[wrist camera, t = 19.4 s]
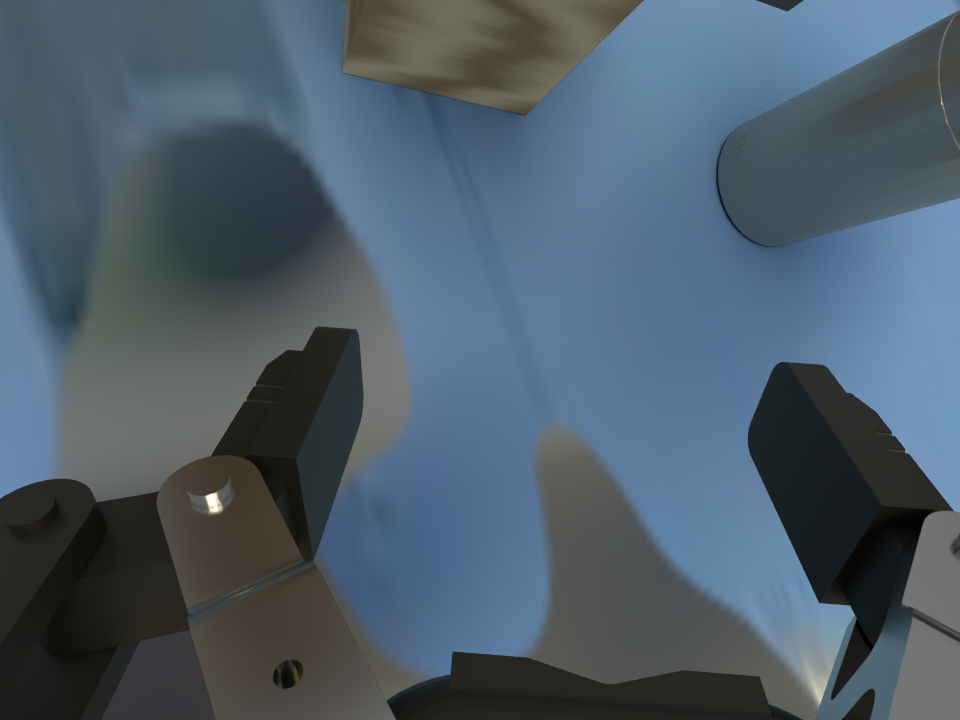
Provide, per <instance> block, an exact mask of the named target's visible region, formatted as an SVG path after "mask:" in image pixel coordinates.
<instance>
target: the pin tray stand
mask: <svg viewBox="0 0 960 720" xmlns="http://www.w3.org/2000/svg"><path fill="white" fill-rule="evenodd" d="M643 1H644V0H346V12H345V32H344V51H343V70H342V72H343V73H347V74H351V75H356V76H360V77H364V78H368V79H373V80H377V81H381V82H385V83H390V84H394V85H398V86H403V87H407V88H411V89H415V90H420V91H424V92H428V93H432V94H437V95H441V96H445V97H449V98H454V99H458V100H462V101H467V102H471V103H475V104H479V105H484V106H488V107H492V108H496V109H501V110H505V111H509V112H513V113H518V114H522V115H526V114H527V113H528V112H529V111H530V110H531V109H532V108H533V107H534V106H535V105H537V104H538V103H539V102H540V101H541V100H542V99H543V98H544V97H545V96H546V95H547V94H548V93H549V92H550V91H551V90H552V89H553V88H554V87H555V86H556V85H557V84H558V83H559V82H560V81H561V80H562V79H563V78H564V77H565V76H566V75H567V74H568V73H569V72H570V71H572V70H573V69H574V68H575V67H576V66H577V65H578V64H579V63H580V62H581V61H582V60H583V59H584V58H585V57H586V56H587V55H588V54H589V53H590V52H591V51H592V50H593V49H594V48H595V47H596V46H597V45H598V44H599V43H600V42H601V41H602V40H603V39H604V38H605V37H606V36H608V35H609V34H610V33H611V32H612V31H613V30H614V29H615V28H616V27H617V26H618V25H619V24H620V23H621V22H622V21H623V20H624V19H625V18H626V17H627V16H628V15H629V14H630V13H631V12H632V11H633V10H634V9H635V8H636V7H637V6H638V5H639V4H640V3H641V2H643Z"/></svg>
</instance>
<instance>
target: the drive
mask: <svg viewBox="0 0 960 720" xmlns="http://www.w3.org/2000/svg"><path fill="white" fill-rule="evenodd" d="M757 1H760V2H762V3H765V4H768V5H771V6H774V7H776V8H779V9H782V10H785V11H789V10H790V9H792V8H793V7H795V6H796V5H798V4H799V3H800V2H802V1H803V0H757Z"/></svg>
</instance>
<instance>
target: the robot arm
mask: <svg viewBox="0 0 960 720" xmlns="http://www.w3.org/2000/svg"><path fill="white" fill-rule="evenodd" d="M718 182H719V189H720V194H721V198H722V201H723V204H724V206H725V209H726V211H727V213H728V215H729V217H730V218H731V220H732V221H733V223H734V225H735V226H736V227H737V228H738V229H739V230H740V231H741V232H742V233H743V234H744V235H745V236H747V237H748V238H749V239H751V240H752V241H754V242H756V243H758V244H761V245H765V246H771V247H774V246H782V245H786V244H789V243H793V242H797V241H801V240H804V239H808V238H812V237H816V236H819V235H823V234H827V233H831V232H835V231H839V230H843V229H846V228H850V227H854V226H858V225H861V224H865V223H869V222H872V221H876V220H880V219H884V218H887V217H891V216H895V215H899V214H902V213H906V212H910V211H914V210H917V209H921V208H925V207H928V206H932V205H936V204H940V203H943V202H947V201H951V200H955V199H958V198H960V10H959V11H957V12H955V13H953V14H951V15H950V16H948V17H946V18H944V19H942V20H940V21H938V22H936V23H934V24H932V25H931V26H929V27H927V28H925V29H923V30H921V31H919V32H917V33H915V34H914V35H912V36H910V37H908V38H906V39H904V40H902V41H900V42H898V43H897V44H895V45H893V46H891V47H889V48H887V49H885V50H883V51H881V52H879V53H878V54H876V55H874V56H872V57H870V58H868V59H866V60H864V61H862V62H861V63H859V64H857V65H855V66H853V67H851V68H849V69H847V70H845V71H843V72H842V73H840V74H838V75H836V76H834V77H832V78H830V79H828V80H826V81H825V82H823V83H821V84H819V85H817V86H815V87H813V88H811V89H809V90H807V91H806V92H804V93H802V94H800V95H798V96H796V97H794V98H792V99H790V100H788V101H786V102H784V103H783V104H781V105H779V106H777V107H775V108H773V109H771V110H769V111H767V112H766V113H764V114H762V115H760V116H758V117H756V118H754V119H752V120H750V121H749V122H747V123H745V124H743V125H741V126H740V127H738V128H737V129H735V130H734V131H733V133H732V134H731V135H730V136H729V137H728V139H727V140H726V142H725V144H724V146H723V148H722V152H721V155H720V158H719V166H718ZM362 410H363V383H362V370H361V356H360V342H359V335H358V332H357V330H356V329H345V328H331V327H316V328H315V330H314V331H313V334H312V335H311V337H310V339H309V341H308V342H307V344H306V346H305V348H304V350H303V351H295V350H287V351H285V352H284V353H283V354H281V355H280V356H279V357H277V358H276V359H274V360H273V361H272V362H270V363H269V364H268V365H267V366H266V367H265V369H264V371H263V372H262V374H261V376H260V377H259V379H258V381H257V382H256V387H253V389H252V390H251V392H250V394H249V395H248V397H247V401H246V402H244V403H243V405H242V406H241V408H240V410H239V411H238V413H237V414H236V416H235V418H234V420H233V421H232V423H231V424H230V426H229V427H228V429H227V431H226V432H225V434H224V436H223V437H222V439H221V441H220V442H219V444H218V445H217V447H216V449H215V450H214V452H213V453H212V455H211V457H206V458H203V459H199V460H197V461H194V462H192V463H190V464H188V465H186V466H184V467H182V468H181V469H179V470H178V471H176V472H175V473H174V474H172V475H171V476H170V477H169V478H168V479H167V481H166V482H165V483H164V484H163V486H162V487H161V489H160V491H158V492H154V493H150V494H144V495H138V496H132V497H127V498H121V499H115V500H108V501H103V502H96V500H95V498H94V496H93V493H92V492H91V490H90V488H88V487H87V486H86V485H85V484H83V483H81V482H78V481H75V480H70V479H52V480H45V481H41V482H37V483H33V484H30V485H27V486H24V487H22V488H20V489H17V490H15V491H13V492H11V493H9V494H7V495H6V496H4V497H2V498H1V499H0V720H101V719H102V717H103V715H104V713H105V711H106V709H107V707H108V705H109V702H110V700H111V699H112V697H113V694H114V692H115V690H116V688H117V686H118V684H119V682H120V680H121V678H122V676H123V674H124V672H125V670H126V668H127V665H128V664H129V662H130V660H131V658H132V656H133V653H134V651H135V649H136V647H137V645H138V643H139V641H141V640H145V639H150V638H155V637H159V636H163V635H167V634H172V633H177V632H181V631H185V630H190V632H191V635H192V639H193V642H194V646H195V649H196V652H197V656H198V659H199V663H200V666H201V669H202V673H203V676H204V680H205V683H206V687H207V690H208V693H209V697H210V701H211V704H212V707H213V711H214V714H215V718H216V720H802V719H800V718H798V717H797V716H795V715H793V714H791V713H789V712H786V711H784V710H782V709H780V708H778V707H776V706H773V705H769V704H768V701H767V698H766V695H765V692H764V689H763V686H762V683H761V680H760V677H758V676H746V675H733V674H721V673H709V672H697V671H678V672H674V673H669V674H663V675H658V676H653V677H648V678H643V679H638V680H633V681H628V682H623V683H618V684H604V683H600V682H597V681H594V680H591V679H588V678H585V677H582V676H579V675H576V674H574V673H571V672H568V671H564V670H562V669H559V668H556V667H553V666H550V665H547V664H544V663H541V662H539V661H536V660H533V659H530V658H525V657H513V656H501V655H489V654H476V653H464V652H453V654H452V665H451V675H446V676H441V677H437V678H433V679H430V680H427V681H424V682H421V683H418V684H416V685H414V686H411V687H410V688H407V689H405V690H403V691H401V692H399V693H398V694H396V695H395V696H393V697H391V698H390V699H388V700H387V701H386V700H385V697H384V695H383V694H382V692H381V690H380V688H379V686H378V684H377V682H376V680H375V678H374V676H373V674H372V672H371V670H370V668H369V666H368V664H367V663H366V661H365V659H364V657H363V655H362V653H361V651H360V649H359V647H358V645H357V643H356V641H355V639H354V637H353V635H352V634H351V632H350V630H349V628H348V626H347V624H346V622H345V620H344V618H343V616H342V614H341V612H340V610H339V608H338V606H337V604H336V603H335V601H334V599H333V597H332V595H331V593H330V591H329V589H328V587H327V585H326V583H325V581H324V579H323V577H322V576H321V574H320V572H319V570H318V568H317V567H316V565H315V564H314V562H313V561H312V560H314V558H315V555H316V552H317V549H318V546H319V543H320V540H321V537H322V534H323V531H324V528H325V525H326V523H327V520H328V517H329V514H330V511H331V508H332V505H333V502H334V499H335V496H336V493H337V490H338V487H339V484H340V481H341V478H342V475H343V472H344V469H345V466H346V464H347V461H348V458H349V455H350V451H351V449H352V446H353V443H354V440H355V437H356V434H357V431H358V428H359V425H360V422H361V417H362ZM748 447H749V452H750V455H751V457H752V459H753V462H754V464H755V466H756V468H757V470H758V472H759V475H760V477H761V479H762V481H763V483H764V485H765V487H766V490H767V492H768V494H769V496H770V498H771V500H772V502H773V505H774V507H775V509H776V511H777V513H778V515H779V518H780V520H781V522H782V524H783V526H784V528H785V530H786V533H787V535H788V537H789V539H790V541H791V543H792V545H793V548H794V550H795V552H796V554H797V556H798V558H799V561H800V563H801V565H802V567H803V569H804V571H805V573H806V576H807V578H808V580H809V582H810V584H811V586H812V588H813V591H814V593H815V595H816V597H817V599H818V601H819V603H826V604H839V605H850V606H851V608H852V610H853V612H854V614H855V616H854V618H853V619H852V621H851V622H850V623H849V625H848V627H847V629H846V631H845V634H844V637H843V640H842V643H841V646H840V649H839V652H838V655H837V657H836V660H835V663H834V666H833V669H832V672H831V675H830V678H829V680H828V683H827V686H826V689H825V692H824V695H823V698H822V701H821V704H820V706H819V709H818V712H817V714H816V716H815V718H814V720H960V513H959V512H954V511H953V509H952V508H951V507H950V506H949V504H948V503H947V502H946V501H945V499H944V498H943V497H942V495H941V494H940V493H939V492H938V490H937V489H936V488H935V487H934V485H933V484H932V483H931V481H930V480H929V479H928V478H927V476H926V475H925V474H924V472H923V471H922V470H921V469H920V467H919V466H918V465H917V464H916V462H915V461H914V460H913V458H912V457H911V456H910V455H909V454H906V453H905V448H904V447H903V446H902V444H901V443H900V442H899V441H898V439H897V438H896V437H895V436H892V432H891V430H890V429H889V428H888V427H887V425H886V424H885V423H884V422H883V420H882V419H881V418H880V416H879V415H878V414H877V413H876V412H875V411H874V410H873V409H871V408H870V407H869V406H867V405H866V404H865V403H863V402H862V401H861V400H859V399H858V398H857V397H855V396H854V395H852V394H851V393H846V392H845V390H844V389H843V388H842V386H841V385H840V384H839V382H838V381H837V380H836V378H835V377H834V376H833V374H832V373H831V372H830V370H829V369H828V368H827V367H825V366H824V365H817V364H803V363H790V362H780V363H778V364H777V365H776V366H775V367H774V369H773V370H772V373H771V375H770V377H769V380H768V382H767V384H766V387H765V389H764V392H763V394H762V397H761V399H760V401H759V404H758V406H757V409H756V411H755V413H754V416H753V418H752V421H751V423H750V427H749V432H748Z"/></svg>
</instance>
